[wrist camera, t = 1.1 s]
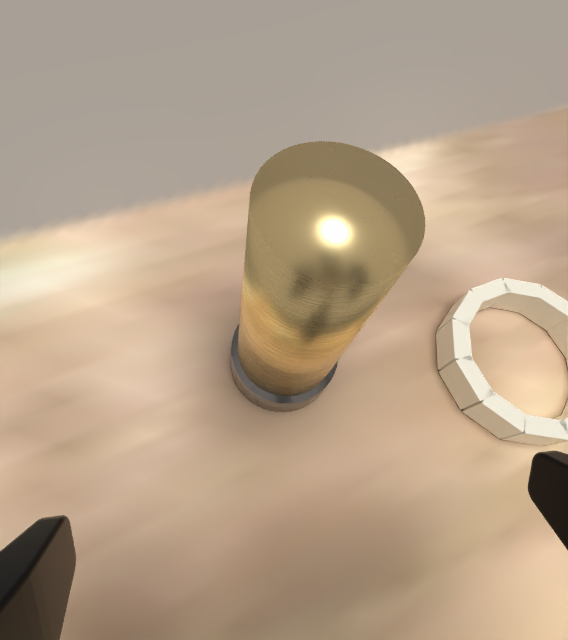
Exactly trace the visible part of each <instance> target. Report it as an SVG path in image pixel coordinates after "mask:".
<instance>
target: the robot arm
mask: <svg viewBox="0 0 568 640" xmlns="http://www.w3.org/2000/svg"><path fill="white" fill-rule="evenodd" d="M528 492H529V495H530V497H531V499H532V501H533V502H534V504H535V505H536V506H537V508H538V509H539V511H540V512H541V513H542V515H543V516H544V518H545V519H546V520H547V522H548V523H549V525H550V526H551V527H552V529H553V530H554V532H555V533H556V534H557V536H558V537H559V539H560V540H561V541H562V543H563V544H564V546H565V547H566V548H567V550H568V454H565V453H562V452H559V451H547V452H539V453H537V454H535V456H534V457H533V460H532V465H531V471H530V476H529V482H528ZM75 565H76V553H75V548H74V542H73V537H72V531H71V526H70V521H69V519H68V517H66V516H64V515H61V516H54V517H46V518H41V519H39V520H38V521H36V522H35V523H34V524H33V525H31V526H30V527H29V528H28V529H27V530H25V531H24V532H23V533H22V534H21V535H19V536H18V537H17V538H16V539H15V540H13V541H12V542H11V543H10V544H9V545H7V546H6V547H5V548H4V549H2V550H1V551H0V640H59V639H60V635H61V630H62V626H63V621H64V617H65V612H66V608H67V603H68V599H69V594H70V590H71V585H72V580H73V576H74V571H75Z"/></svg>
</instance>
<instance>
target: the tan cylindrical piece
mask: <svg viewBox="0 0 568 640" xmlns="http://www.w3.org/2000/svg"><path fill="white" fill-rule="evenodd" d="M424 232H425V216H424V211H423V207H422V204H421V201H420V199H419V197H418V195H417V193H416V191H415V190H414V188H413V187H412V185H411V184H410V183H409V181H408V180H407V179H406V178H405V177H404V176H403V175H402V174H401V173H400V172H399V171H398V170H397V169H396V168H395V167H394V166H392V165H391V164H390V163H388V162H387V161H385V160H384V159H382V158H381V157H379V156H377V155H375V154H373V153H371V152H369V151H366V150H364V149H361V148H358V147H355V146H352V145H348V144H343V143H337V142H322V141H321V142H320V141H319V142H308V143H303V144H298V145H295V146H292V147H289V148H287V149H284V150H283V151H280V152H279V153H277V154H275V155H274V156H273V157H271V158H270V159H269V160H268V161H267V162H266V163H265V164H264V165H263V166H262V167H261V168H260V170H259V171H258V173H257V174H256V176H255V179H254V181H253V183H252V187H251V192H250V202H249V214H248V226H247V238H246V250H245V262H244V274H243V286H242V298H241V310H240V322H239V325H238V327H237V328H236V330H235V333H234V336H233V340H232V349H231V370H232V375H233V378H234V380H235V383H236V385H237V386H238V388H239V389H240V391H241V392H242V393H243V394H244V396H245V397H246V398H248V399H249V400H250V401H251V402H253V403H254V404H256V405H257V406H260V407H262V408H264V409H268V410H271V411H278V412H286V411H293V410H297V409H300V408H302V407H304V406H306V405H308V404H310V403H311V402H312V401H314V400H315V399H316V398H317V397H318V396H319V394H320V393H321V392H322V391H323V389H324V388H325V387H326V386H327V384H328V383H329V382H330V380H331V379H332V377H333V375H334V373H335V370H336V367H337V363H338V360H339V358H340V357H341V355H342V354H343V353H344V351H345V350H346V349H347V347H348V346H349V345H350V343H351V342H352V340H353V339H354V338H355V336H356V335H357V334H358V332H359V331H360V330H361V328H362V327H363V326H364V324H365V323H366V321H367V320H368V319H369V317H370V316H371V315H372V313H373V312H374V311H375V309H376V308H377V307H378V305H379V304H380V302H381V301H382V300H383V298H384V297H385V296H386V294H387V293H388V292H389V290H390V289H391V288H392V286H393V285H394V283H395V282H396V281H397V279H398V278H399V277H400V275H401V274H402V273H403V271H404V270H405V268H406V267H407V266H408V264H409V263H410V262H411V260H412V259H413V258H414V256H415V255H416V254H417V252H418V250H419V248H420V246H421V244H422V241H423V238H424Z"/></svg>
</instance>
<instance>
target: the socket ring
mask: <svg viewBox="0 0 568 640" xmlns="http://www.w3.org/2000/svg"><path fill="white" fill-rule="evenodd" d="M488 307H491V308H497V309H503V310H508V311H514V312H519V313H520V314H522V315H523V316H525V317H526V318H528V319H529V320H531V321H533V322H534V323H536V324H537V325H539V326H540V327H542V328H543V329H545V330H546V331H547V332H548V334H549V335H550V337H551V338H552V339H553V341H554V342H555V344H556V345H557V346H558V348H559V349H560V351H561V352H562V353H563V355H564V356H565V358H566V362H567V367H568V301H566V300H565V299H563V298H562V297H560V296H558V295H557V294H555V293H554V292H552V291H551V290H549V289H547V288H546V287H544V286H543V285H542V286H540V284H536V283H530V282H525V281H519V280H514V279H508V278H503V279H502V278H500V279H497V280H494V281H491V282H488V283H486V284H483V285H480V286H477V287H474V288H471V289H470V290H469V291H468V292H467V293H466V294H464V295H463V296H462V297H461V298H460V299H459V300H458V301H457V302H456V303H455V304H454V305H453V306H452V307H451V309H450V310H449V312H448V314H447V315H446V317H445V318H444V320H443V322H442V323H441V325H440V326H439V328H438V329H437V333H436V345H437V365H438V370H441V371H439V374H440V376H441V377H442V379H443V381H444V382H445V384H446V386H447V388H448V389H449V391H450V393H451V395H452V396H453V398H454V400H455V401H456V403H457V405H458V407H459V408H460V410H461V409H463V411H462V412H463V413H464V414H466V415H467V416H469V417H470V418H471V419H473V420H474V421H476V422H477V423H478V424H480V425H481V426H482V427H484V428H485V429H487V430H488V431H489V432H491V433H492V434H493V435H495V436H496V437H498V438H499V439H500V438H502V440H506V441H513V442H519V443H526V444H532V445H539V446H545V445H550V444H555V443H559V442H564V441H568V400H567V403H566V405H565V408H564V410H563V413H562V415H560V416H558V417H556V418H554V419H551V418H544V417H538V416H532V415H526V414H525V413H523V412H522V411H520V410H519V409H518V408H516V407H515V406H513V405H512V404H510V403H509V402H508V401H506V400H505V399H503V398H502V397H501V396H499V395H498V394H496V393H495V392H493V391H492V389H491V387H490V386H489V384H488V383H487V381H486V379H485V378H484V376H483V375H482V373H481V371H480V370H479V368H478V367H477V365H476V363H475V362H474V360H473V358H472V352H471V341H470V330H469V324H470V323H471V321H472V319H473V318H474V316H475V314H476V312H478V311H481V310H483V309H486V308H488Z"/></svg>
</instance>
